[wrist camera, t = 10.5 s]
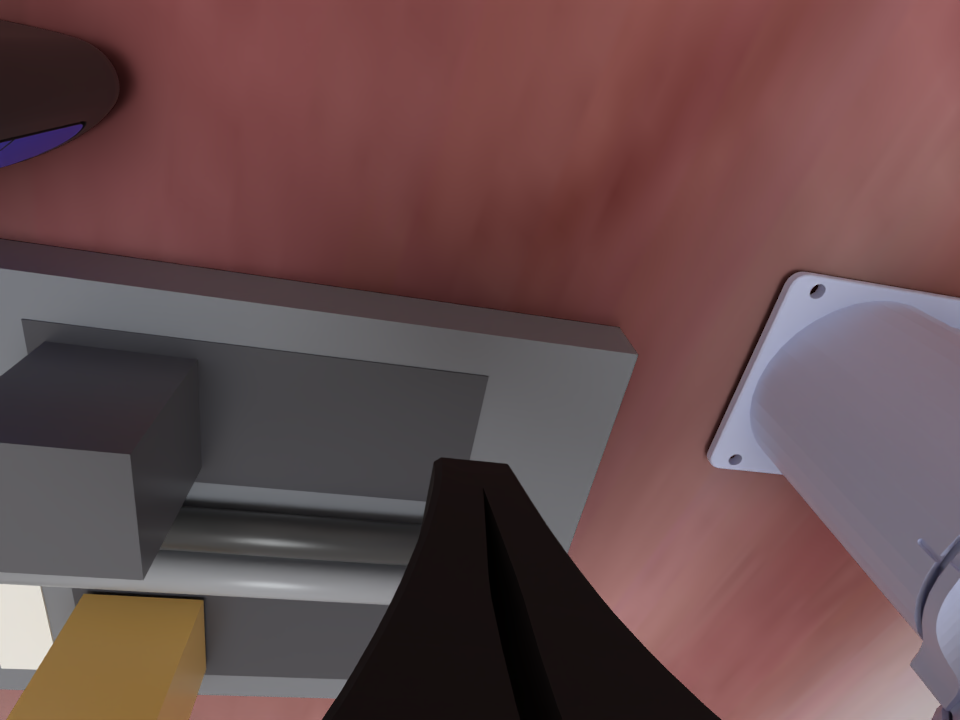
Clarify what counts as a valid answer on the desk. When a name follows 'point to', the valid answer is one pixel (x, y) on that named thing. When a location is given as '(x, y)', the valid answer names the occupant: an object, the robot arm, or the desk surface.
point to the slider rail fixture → (262, 449)
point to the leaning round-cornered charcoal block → (49, 90)
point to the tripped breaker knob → (120, 662)
